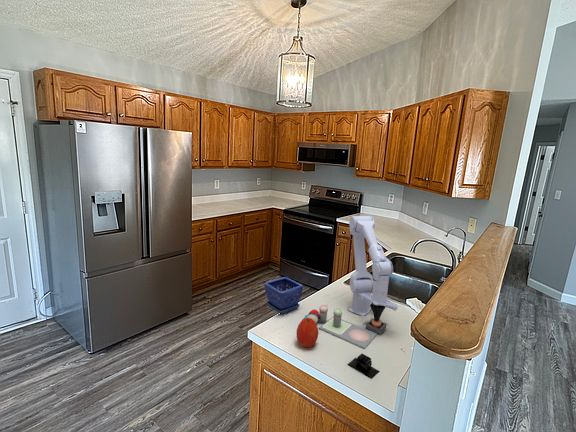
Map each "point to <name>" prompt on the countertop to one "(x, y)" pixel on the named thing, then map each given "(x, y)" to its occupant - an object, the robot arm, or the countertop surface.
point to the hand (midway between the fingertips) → (376, 320)
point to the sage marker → (337, 318)
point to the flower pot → (283, 294)
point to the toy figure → (313, 315)
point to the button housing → (375, 329)
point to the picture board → (349, 333)
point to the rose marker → (323, 314)
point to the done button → (376, 323)
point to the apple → (307, 332)
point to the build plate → (363, 366)
